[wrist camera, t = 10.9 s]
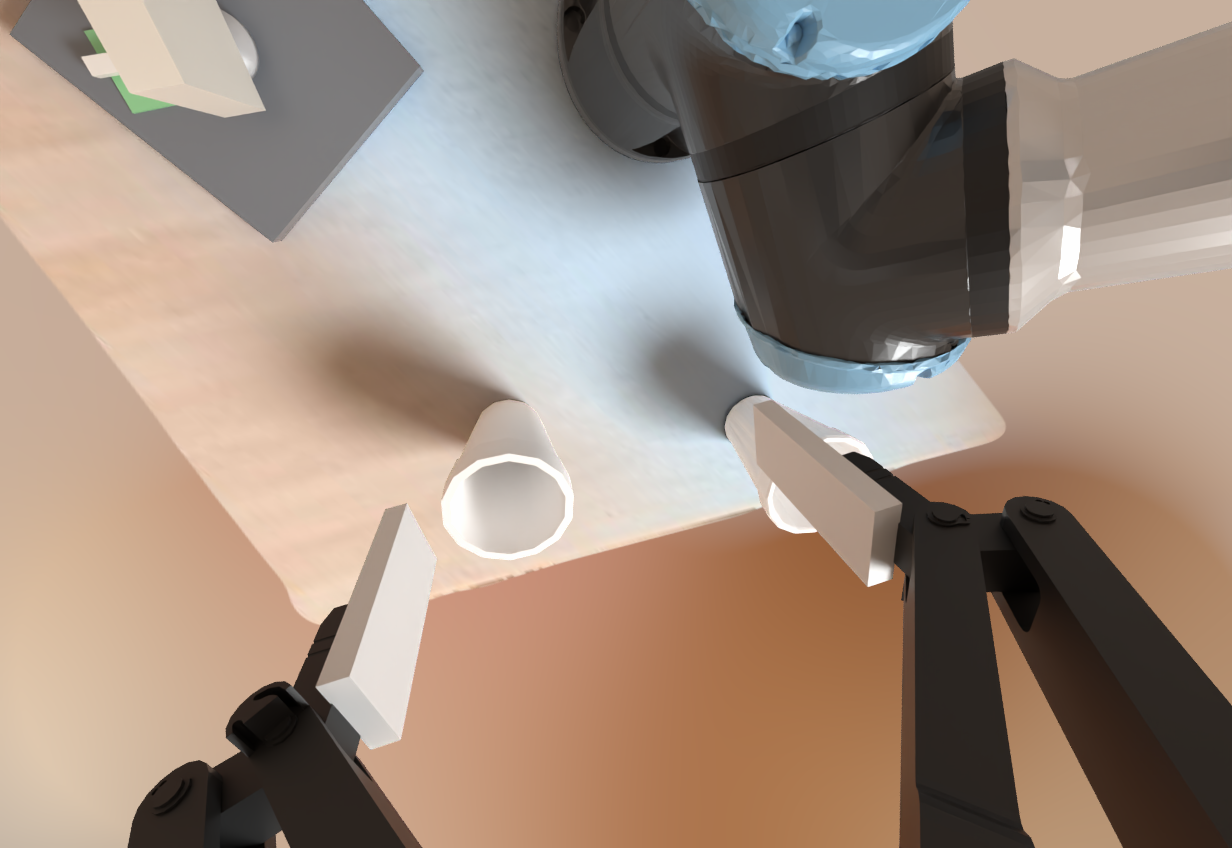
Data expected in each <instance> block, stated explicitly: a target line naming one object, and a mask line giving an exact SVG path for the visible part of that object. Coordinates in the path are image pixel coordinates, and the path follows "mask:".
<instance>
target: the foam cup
mask: <svg viewBox="0 0 1232 848" xmlns="http://www.w3.org/2000/svg"><path fill="white" fill-rule="evenodd" d="M573 499H574V494H573V489H572V485H571V480H570V477H569V475H568V473H567V471H566V469H565V467H564V465H563V464H562V462H561V460H560V458H559V457H558V456H557V454H556V452H555V450H554V447H553V445H552V443H551V441H550V438H549V436H548V434H547V432H546V430H545V427H544V425H543V423H542V421H541V419H540V418H539V416H538V414H537V412H536V410H534V409H533V408H531V407H530V406H529V405H527V404H526V403H525V402H520V401H515V400H510V399H508V400H503V401H499V402H494V403H493V404H491V405H490V406H489V407H487V408H486V409H485V410H483V411H482V413H481V415H480V417H479V419H478V421H477V423H476V425H475V427H474V429H473V431H472V433H471V435H470V438H469V440H468V442H467V444H466V446H465V448H464V450H463V452H462V455H461V457H460V458H459V459H457V460H456V462H455V464H454V466H453V468H452V470H451V472H450V474H449V476H448V478H447V480H446V482H445V486H444V491H443V495H442V500H441V505H442V515H443V526H444V527H445V528H446V529H447V531H448V532H449V533H450V535H451V536H452V537H453V539H454V540H455V541H456V543H457V544H458V545H459V546H461V547H463V548H465V549H467V550H469V551H471V552H473V553H475V554H477V555H479V556H481V557H483V558H493V559H504V560H513V559H517V558H521V557H525V556H529V555H534V554H538V553H539V552H541V551H542V550H544V549H545V548H546V547H548V546H549V545H551V544H552V543H554V542H555V541H557V540H558V539H560V537H561V536H562V534H563V532H564V531H565V529H566V528H567V526H568V524H569V523H570V521H571V520H572V516H573Z"/></svg>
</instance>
